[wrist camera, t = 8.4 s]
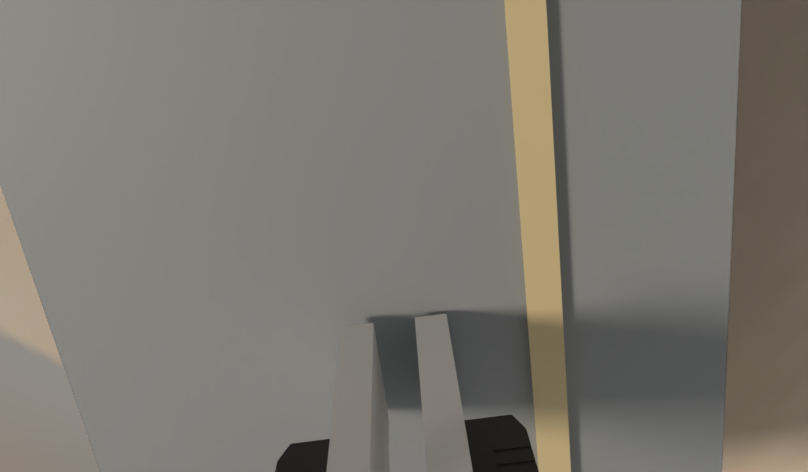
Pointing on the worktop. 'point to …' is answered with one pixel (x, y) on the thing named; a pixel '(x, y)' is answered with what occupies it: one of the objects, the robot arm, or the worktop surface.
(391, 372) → the lid
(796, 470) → the worktop surface
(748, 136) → the worktop surface
